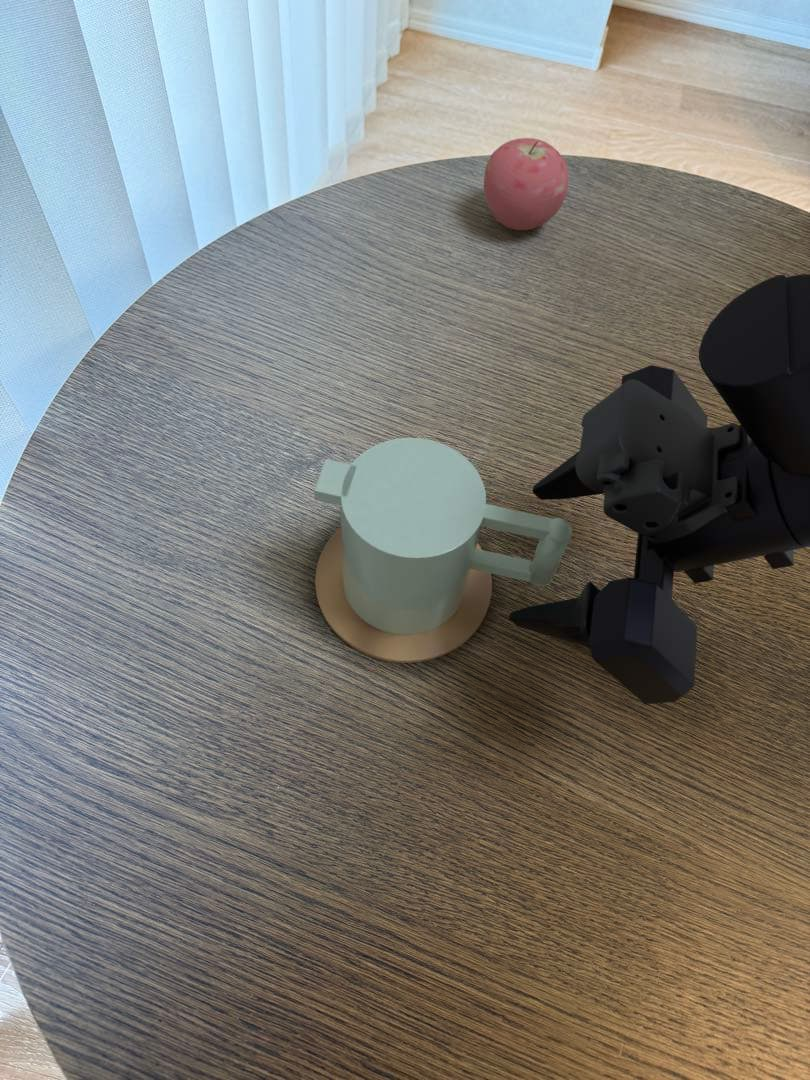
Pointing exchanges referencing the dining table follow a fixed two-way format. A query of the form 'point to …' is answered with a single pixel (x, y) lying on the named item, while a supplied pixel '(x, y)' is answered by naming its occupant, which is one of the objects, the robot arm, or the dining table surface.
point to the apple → (525, 183)
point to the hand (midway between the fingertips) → (525, 553)
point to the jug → (424, 533)
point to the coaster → (389, 643)
